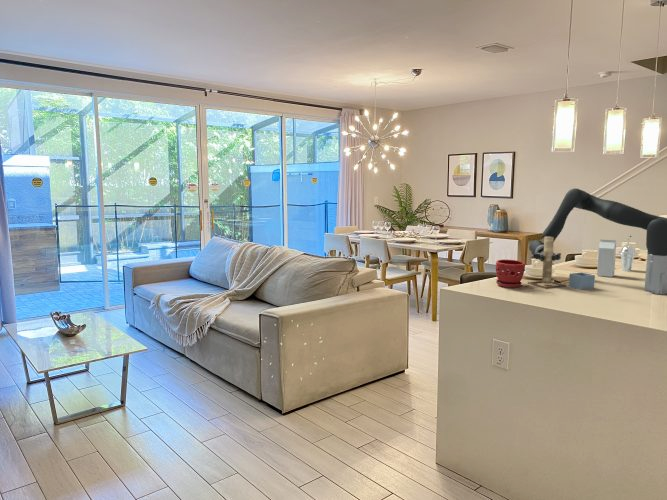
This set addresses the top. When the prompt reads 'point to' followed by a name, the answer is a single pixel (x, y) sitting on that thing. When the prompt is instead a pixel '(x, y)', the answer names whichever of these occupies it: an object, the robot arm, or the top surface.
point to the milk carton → (606, 258)
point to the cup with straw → (627, 257)
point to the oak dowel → (547, 260)
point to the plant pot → (509, 273)
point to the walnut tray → (547, 286)
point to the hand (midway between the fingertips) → (548, 258)
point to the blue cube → (581, 281)
